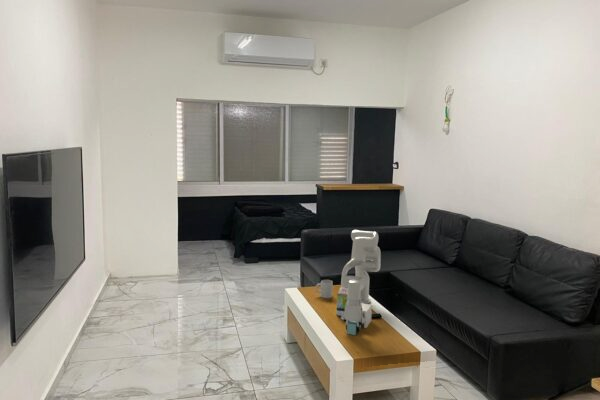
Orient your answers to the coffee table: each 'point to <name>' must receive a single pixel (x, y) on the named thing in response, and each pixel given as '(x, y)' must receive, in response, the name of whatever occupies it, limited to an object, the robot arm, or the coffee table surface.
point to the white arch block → (367, 313)
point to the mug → (325, 288)
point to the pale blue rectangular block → (352, 327)
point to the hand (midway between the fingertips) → (352, 331)
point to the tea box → (341, 300)
